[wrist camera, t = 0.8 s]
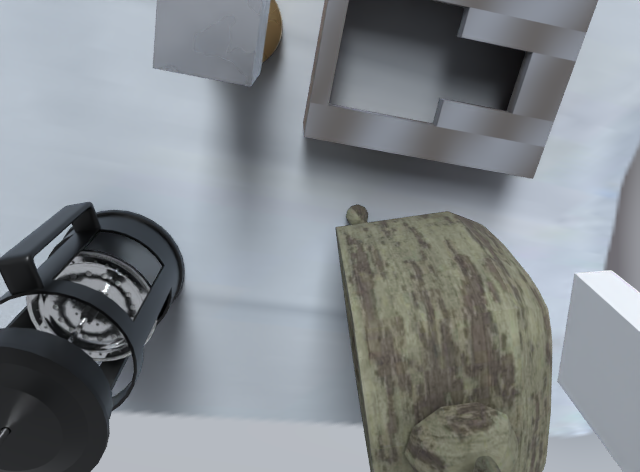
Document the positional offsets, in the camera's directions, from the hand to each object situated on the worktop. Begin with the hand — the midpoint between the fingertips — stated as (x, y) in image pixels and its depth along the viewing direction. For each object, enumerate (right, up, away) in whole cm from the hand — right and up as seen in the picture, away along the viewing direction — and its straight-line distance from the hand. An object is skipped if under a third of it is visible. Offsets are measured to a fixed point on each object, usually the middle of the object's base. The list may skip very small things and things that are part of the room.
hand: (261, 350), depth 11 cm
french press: (-14, +1, +29) cm, 32 cm away
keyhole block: (+8, +14, +24) cm, 29 cm away
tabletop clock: (+7, 0, +30) cm, 31 cm away
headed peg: (-4, +16, +22) cm, 28 cm away
